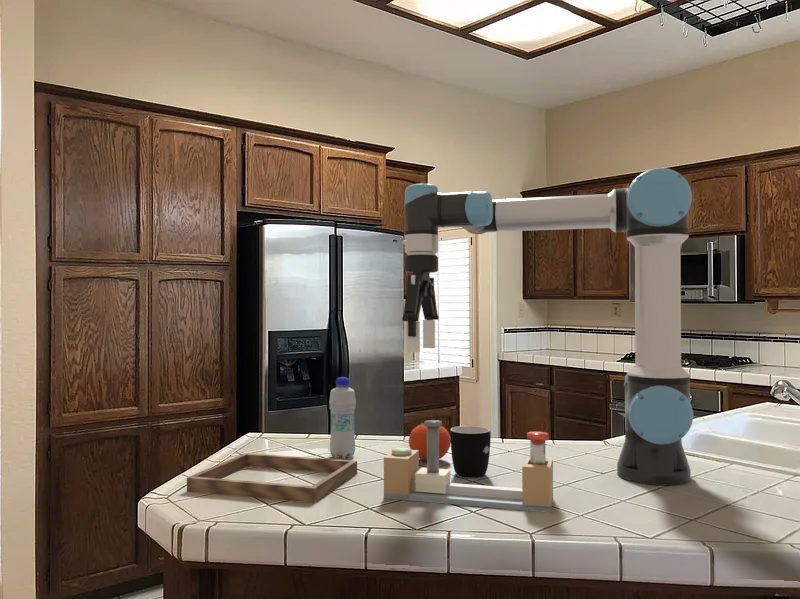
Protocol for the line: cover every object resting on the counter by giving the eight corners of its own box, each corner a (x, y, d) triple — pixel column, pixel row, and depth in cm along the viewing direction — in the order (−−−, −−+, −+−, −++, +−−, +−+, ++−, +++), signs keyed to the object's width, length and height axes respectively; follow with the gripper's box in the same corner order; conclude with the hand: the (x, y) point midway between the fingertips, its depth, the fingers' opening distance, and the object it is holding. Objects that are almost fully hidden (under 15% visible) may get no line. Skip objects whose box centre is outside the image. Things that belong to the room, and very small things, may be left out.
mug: (488, 481, 143) (487, 434, 143) (447, 478, 145) (446, 432, 145) (494, 468, 154) (494, 424, 155) (456, 465, 157) (456, 422, 157)
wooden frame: (357, 473, 150) (357, 460, 150) (314, 502, 128) (314, 488, 128) (245, 464, 158) (245, 453, 158) (186, 491, 136) (186, 477, 136)
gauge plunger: (549, 479, 127) (549, 432, 127) (548, 484, 123) (547, 436, 124) (528, 477, 128) (528, 431, 129) (526, 482, 125) (526, 434, 125)
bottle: (361, 455, 167) (361, 376, 168) (345, 461, 162) (345, 379, 162) (340, 452, 171) (340, 375, 171) (323, 457, 165) (323, 377, 165)
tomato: (459, 461, 161) (459, 420, 161) (425, 467, 155) (425, 424, 155) (433, 454, 169) (433, 414, 169) (400, 459, 163) (400, 418, 163)
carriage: (450, 487, 133) (450, 420, 133) (445, 494, 129) (444, 424, 129) (421, 485, 135) (421, 418, 135) (415, 491, 130) (415, 422, 130)
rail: (553, 499, 129) (552, 454, 129) (550, 512, 121) (549, 464, 121) (395, 487, 138) (395, 445, 138) (383, 498, 131) (383, 453, 131)
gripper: (419, 258, 161) (419, 346, 161) (388, 250, 137) (388, 353, 137) (449, 258, 159) (450, 346, 159) (423, 249, 135) (423, 354, 135)
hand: (421, 350), depth 148 cm, fingers open, 13 cm apart
